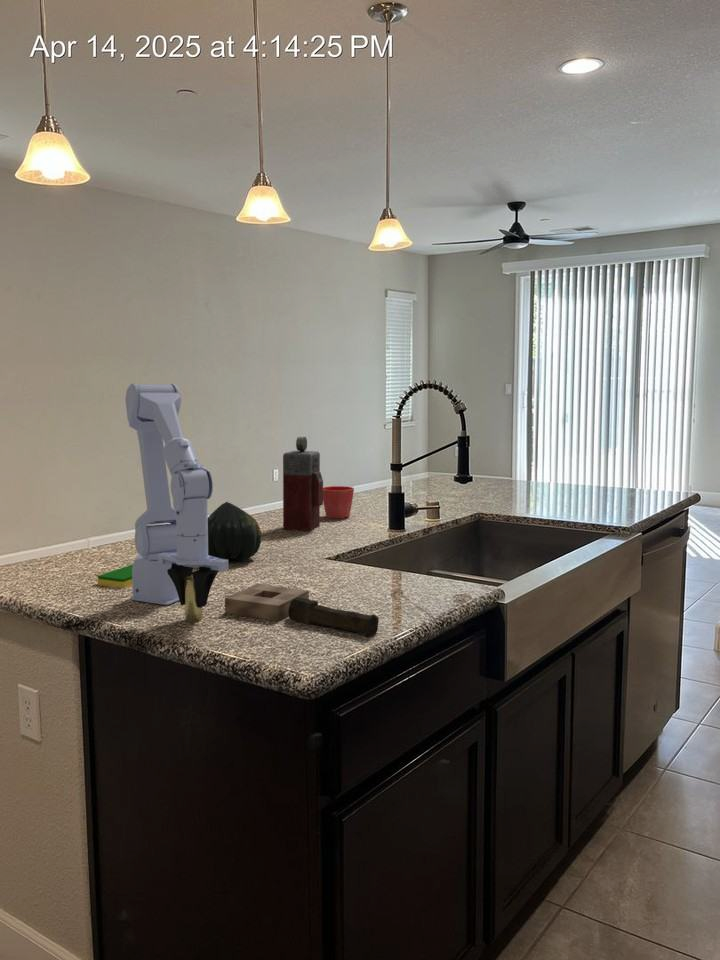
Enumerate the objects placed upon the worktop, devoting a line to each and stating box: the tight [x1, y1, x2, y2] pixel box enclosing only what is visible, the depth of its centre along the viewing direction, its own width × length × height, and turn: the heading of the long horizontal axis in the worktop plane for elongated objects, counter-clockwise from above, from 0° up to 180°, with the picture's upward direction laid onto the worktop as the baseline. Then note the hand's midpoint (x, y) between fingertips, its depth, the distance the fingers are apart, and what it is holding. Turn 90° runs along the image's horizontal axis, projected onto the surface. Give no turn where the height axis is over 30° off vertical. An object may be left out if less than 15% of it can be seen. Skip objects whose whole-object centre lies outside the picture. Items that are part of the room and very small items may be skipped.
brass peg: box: [184, 576, 203, 623], centre depth 149 cm, size 3×3×8 cm
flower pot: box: [323, 485, 355, 519], centre depth 263 cm, size 11×11×10 cm
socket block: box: [224, 583, 310, 622], centre depth 156 cm, size 12×12×3 cm
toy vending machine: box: [282, 436, 324, 532], centre depth 241 cm, size 9×11×28 cm
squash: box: [208, 501, 262, 563], centre depth 200 cm, size 14×15×15 cm
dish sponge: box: [97, 564, 133, 589], centre depth 179 cm, size 7×14×2 cm, turn 158°
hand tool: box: [288, 597, 380, 639], centre depth 146 cm, size 19×4×5 cm, turn 56°
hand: (193, 605), depth 149 cm, fingers closed on brass peg, 3 cm apart
